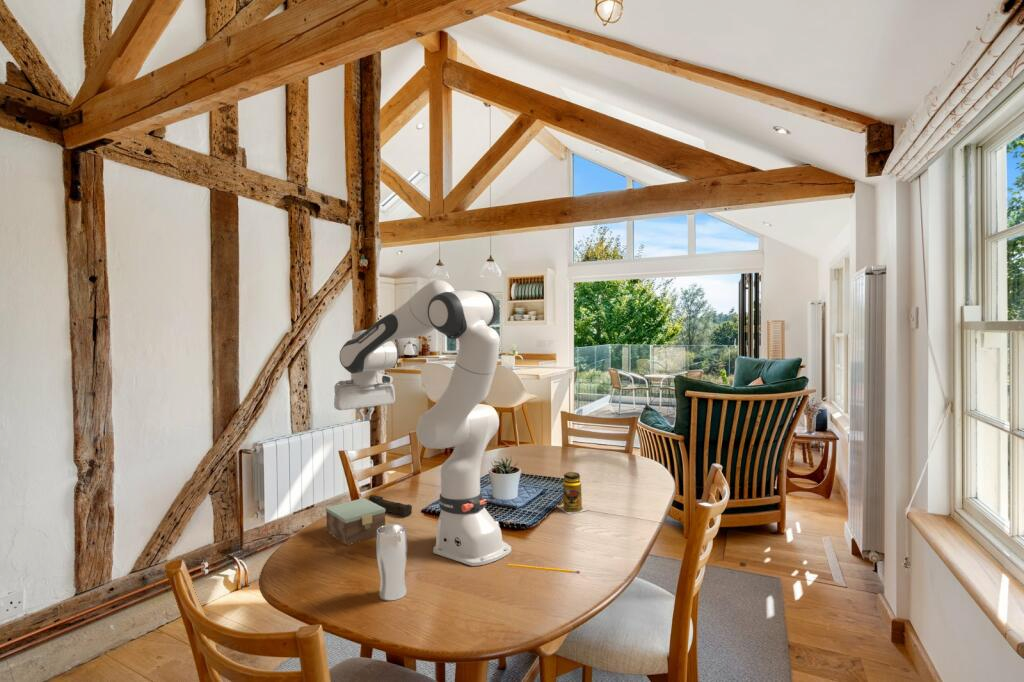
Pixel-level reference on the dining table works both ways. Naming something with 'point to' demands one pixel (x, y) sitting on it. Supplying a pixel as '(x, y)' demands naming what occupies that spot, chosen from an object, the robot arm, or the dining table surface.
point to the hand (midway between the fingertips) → (365, 420)
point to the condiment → (572, 493)
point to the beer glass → (392, 560)
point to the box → (354, 528)
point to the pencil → (544, 568)
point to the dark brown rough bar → (392, 506)
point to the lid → (356, 511)
